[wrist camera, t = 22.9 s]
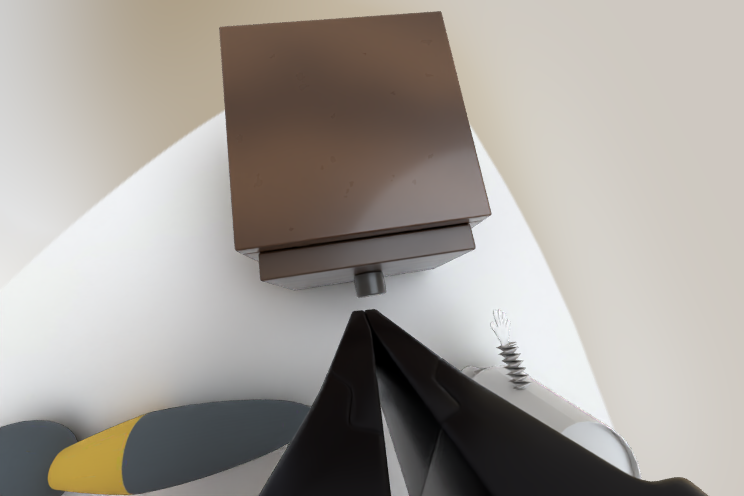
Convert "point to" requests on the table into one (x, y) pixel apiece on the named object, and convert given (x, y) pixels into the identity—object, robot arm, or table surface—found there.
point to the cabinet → (346, 131)
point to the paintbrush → (144, 448)
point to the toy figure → (551, 404)
